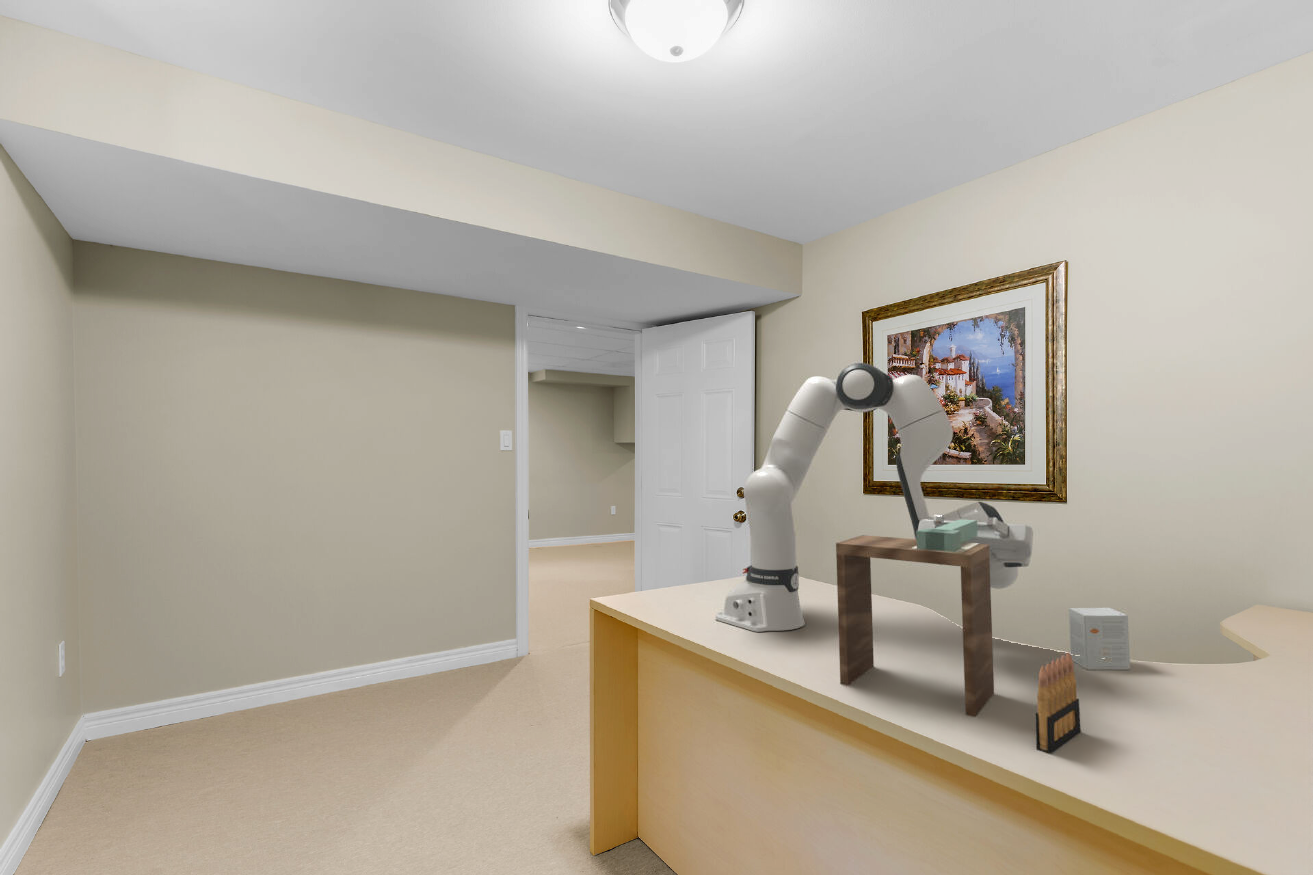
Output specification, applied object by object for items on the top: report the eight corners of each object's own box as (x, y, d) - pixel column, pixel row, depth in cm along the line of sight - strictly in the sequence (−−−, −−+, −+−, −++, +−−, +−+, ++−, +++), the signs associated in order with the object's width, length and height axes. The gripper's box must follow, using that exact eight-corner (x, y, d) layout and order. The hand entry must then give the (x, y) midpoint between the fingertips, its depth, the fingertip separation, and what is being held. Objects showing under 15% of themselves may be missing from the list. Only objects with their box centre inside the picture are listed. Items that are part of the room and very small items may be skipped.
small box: (1112, 660, 123) (1110, 607, 123) (1131, 670, 117) (1129, 614, 117) (1069, 659, 124) (1067, 607, 124) (1086, 670, 118) (1084, 614, 118)
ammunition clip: (1050, 754, 87) (1047, 668, 87) (1035, 749, 89) (1032, 665, 89) (1081, 732, 93) (1078, 652, 93) (1067, 727, 95) (1064, 649, 95)
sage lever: (916, 548, 106) (916, 530, 106) (952, 534, 121) (951, 518, 121) (954, 551, 102) (953, 533, 102) (986, 536, 117) (985, 520, 117)
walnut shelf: (840, 683, 114) (835, 542, 115) (866, 665, 123) (862, 534, 124) (975, 716, 99) (970, 553, 100) (994, 693, 108) (989, 543, 109)
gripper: (930, 529, 134) (910, 502, 125) (1040, 536, 120) (1025, 506, 111) (926, 557, 131) (905, 531, 122) (1038, 567, 118) (1023, 539, 109)
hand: (963, 519), depth 117 cm, fingers open, 8 cm apart
